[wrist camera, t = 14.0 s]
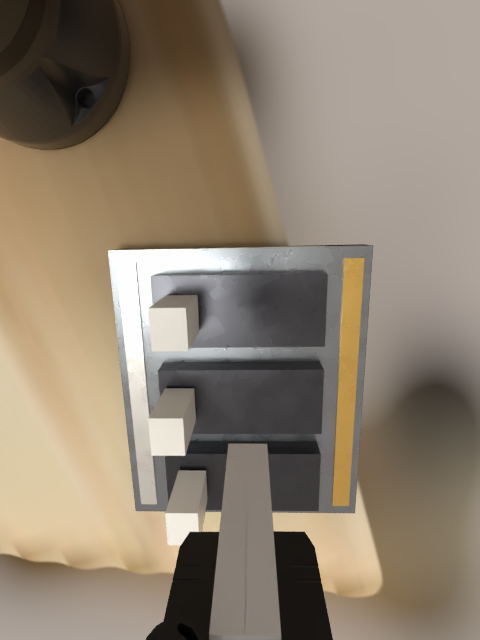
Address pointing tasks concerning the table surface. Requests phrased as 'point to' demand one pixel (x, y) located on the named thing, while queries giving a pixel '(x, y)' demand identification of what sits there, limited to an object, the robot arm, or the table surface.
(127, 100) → the table surface
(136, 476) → the panel
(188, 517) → the breaker far
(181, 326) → the block
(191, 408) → the block
